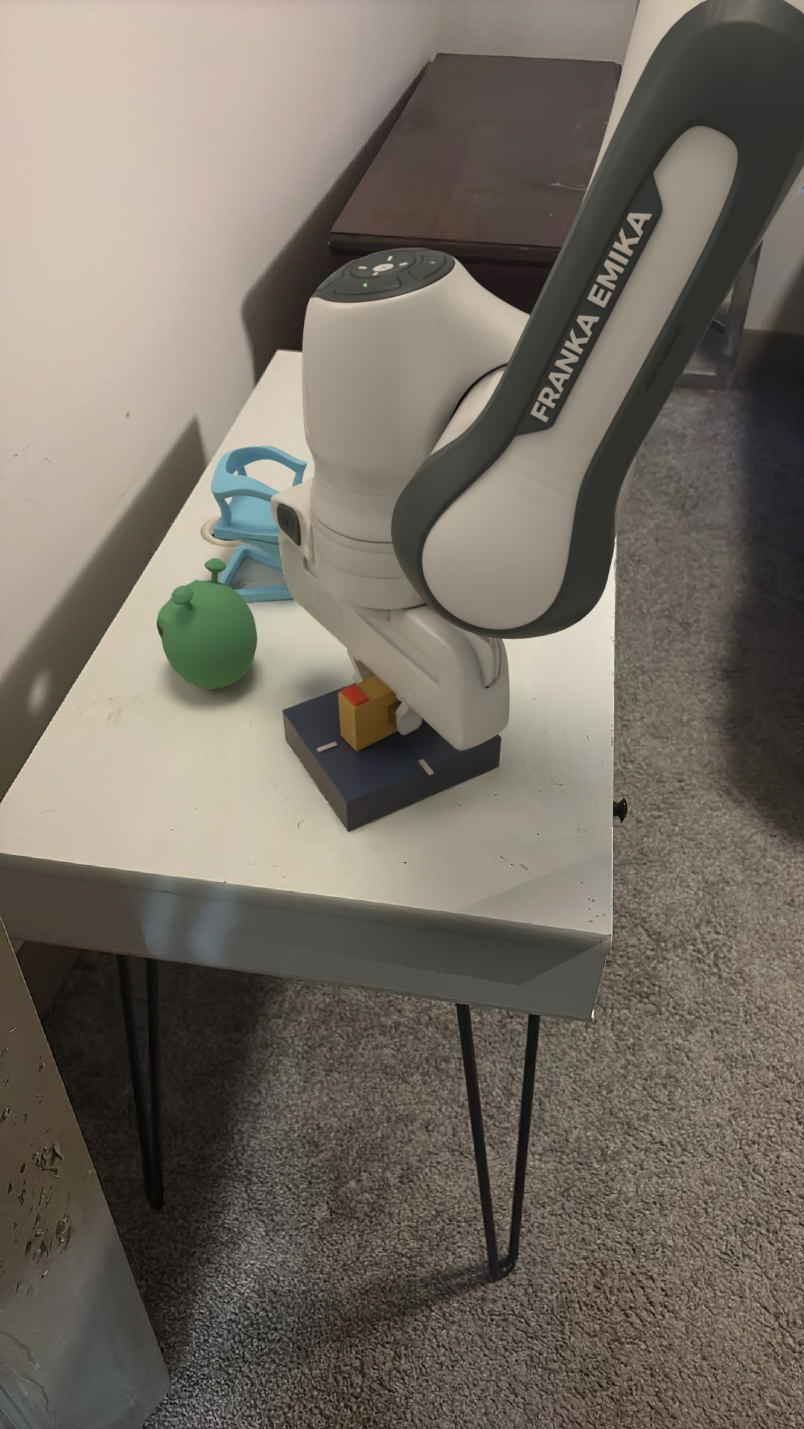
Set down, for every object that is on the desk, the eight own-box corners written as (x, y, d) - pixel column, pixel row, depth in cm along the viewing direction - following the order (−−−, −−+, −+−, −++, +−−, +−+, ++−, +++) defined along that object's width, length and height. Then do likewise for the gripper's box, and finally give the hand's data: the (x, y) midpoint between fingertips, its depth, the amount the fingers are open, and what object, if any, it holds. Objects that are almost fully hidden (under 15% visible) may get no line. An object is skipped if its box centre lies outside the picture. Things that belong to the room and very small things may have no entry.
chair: (306, 615, 83) (295, 488, 75) (211, 603, 84) (190, 477, 76) (330, 562, 88) (321, 439, 80) (240, 552, 90) (223, 429, 81)
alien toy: (197, 637, 81) (177, 533, 74) (279, 664, 79) (266, 558, 72) (145, 690, 76) (119, 584, 70) (231, 720, 74) (212, 613, 67)
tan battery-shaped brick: (422, 694, 71) (422, 649, 69) (439, 710, 70) (440, 664, 67) (340, 735, 69) (337, 689, 66) (356, 752, 67) (354, 706, 64)
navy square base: (423, 680, 77) (424, 649, 75) (504, 772, 70) (507, 741, 68) (281, 734, 73) (277, 702, 71) (352, 838, 66) (350, 807, 64)
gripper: (546, 610, 54) (525, 781, 64) (337, 457, 66) (346, 621, 76) (455, 654, 52) (447, 826, 61) (255, 487, 64) (275, 653, 73)
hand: (390, 711), depth 69 cm, fingers closed on tan battery-shaped brick, 2 cm apart
